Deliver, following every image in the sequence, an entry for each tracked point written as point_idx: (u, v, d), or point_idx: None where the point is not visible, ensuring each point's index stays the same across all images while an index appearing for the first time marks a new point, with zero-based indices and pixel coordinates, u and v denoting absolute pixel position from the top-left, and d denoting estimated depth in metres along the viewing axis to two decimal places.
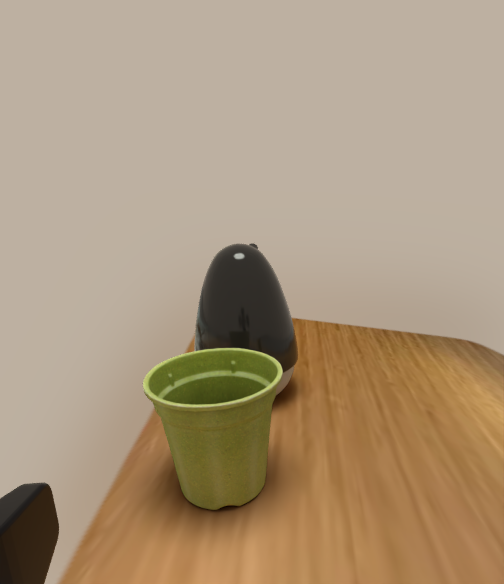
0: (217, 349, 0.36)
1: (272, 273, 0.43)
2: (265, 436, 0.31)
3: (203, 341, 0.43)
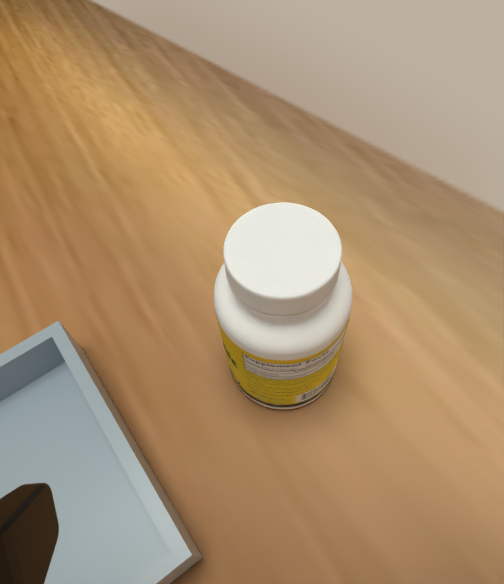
0: None
1: None
2: None
3: None
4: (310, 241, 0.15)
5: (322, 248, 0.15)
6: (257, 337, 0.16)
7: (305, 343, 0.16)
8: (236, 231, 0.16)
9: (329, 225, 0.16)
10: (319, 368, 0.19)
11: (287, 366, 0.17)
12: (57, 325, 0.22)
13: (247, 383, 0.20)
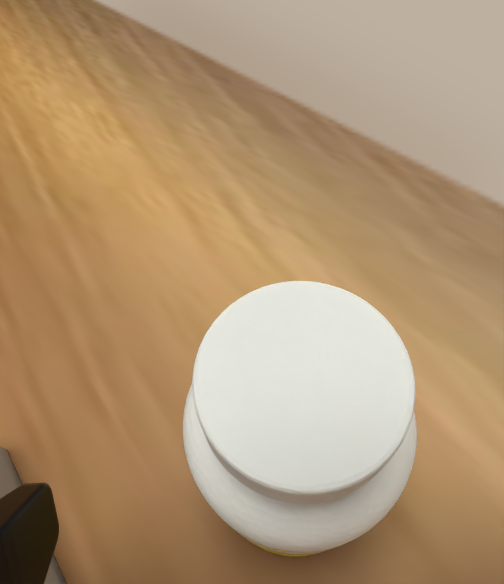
0: None
1: None
2: None
3: None
4: (354, 362, 0.08)
5: (378, 378, 0.08)
6: (257, 522, 0.09)
7: (343, 533, 0.09)
8: (217, 340, 0.09)
9: (387, 328, 0.09)
10: None
11: (309, 552, 0.10)
12: None
13: None
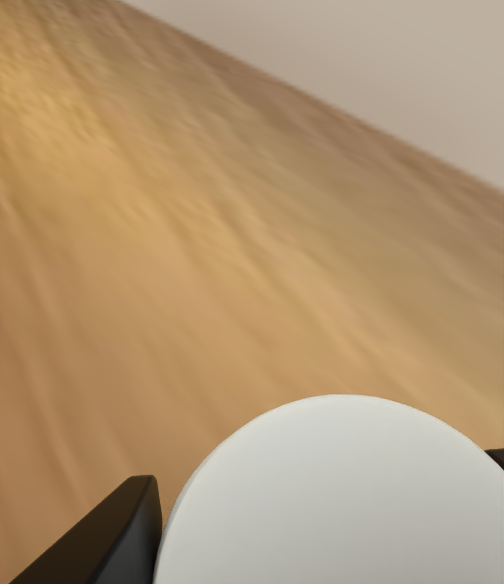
0: None
1: None
2: None
3: None
4: (460, 575, 0.04)
5: None
6: None
7: None
8: (199, 518, 0.05)
9: None
10: None
11: None
12: None
13: None
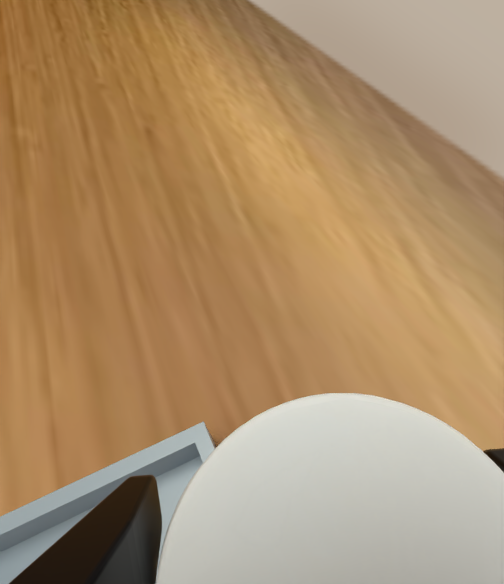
0: None
1: None
2: None
3: None
4: (455, 570, 0.04)
5: None
6: None
7: None
8: (200, 514, 0.05)
9: None
10: None
11: None
12: (202, 428, 0.18)
13: None
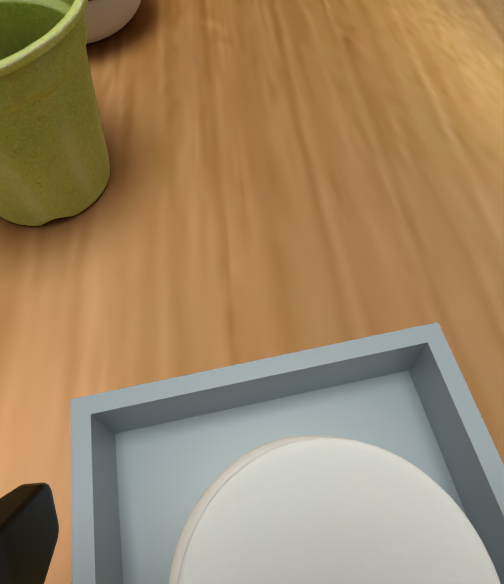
0: None
1: None
2: (85, 116, 0.19)
3: None
4: None
5: None
6: None
7: None
8: (211, 541, 0.06)
9: (462, 526, 0.06)
10: None
11: None
12: (436, 329, 0.15)
13: None
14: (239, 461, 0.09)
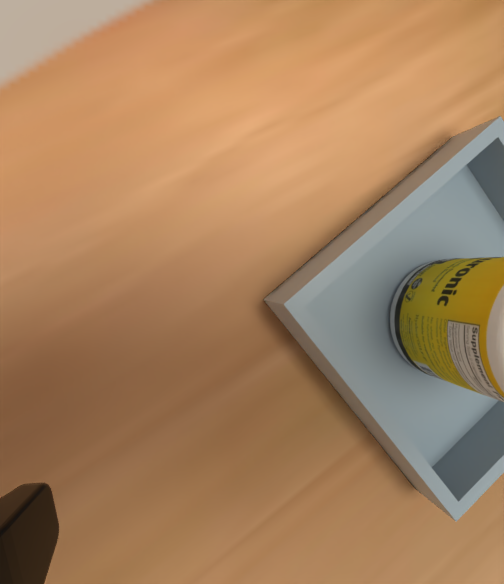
0: None
1: None
2: None
3: None
4: None
5: None
6: None
7: None
8: None
9: None
10: (480, 392, 0.17)
11: (483, 375, 0.16)
12: None
13: (419, 315, 0.19)
14: None
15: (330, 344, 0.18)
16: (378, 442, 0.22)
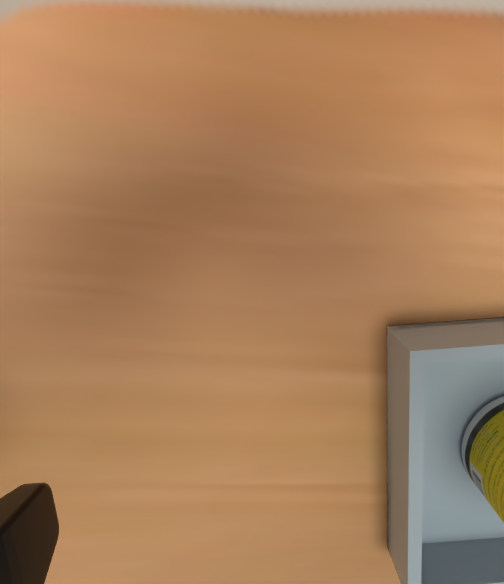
0: None
1: None
2: None
3: None
4: None
5: None
6: None
7: None
8: None
9: None
10: None
11: None
12: None
13: None
14: None
15: (420, 406, 0.19)
16: None
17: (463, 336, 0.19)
